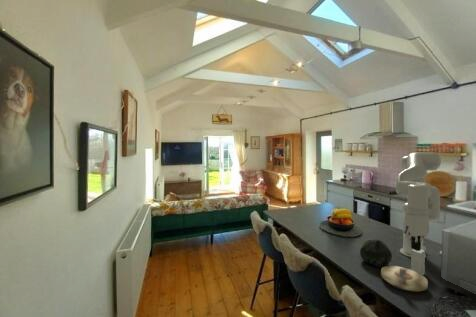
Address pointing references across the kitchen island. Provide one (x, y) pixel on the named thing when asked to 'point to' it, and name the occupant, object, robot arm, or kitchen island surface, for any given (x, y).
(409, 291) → the turntable base
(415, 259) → the skincare box
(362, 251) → the squash
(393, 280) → the turntable
